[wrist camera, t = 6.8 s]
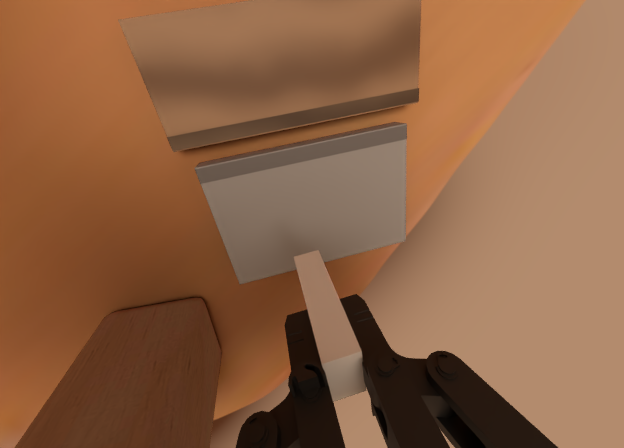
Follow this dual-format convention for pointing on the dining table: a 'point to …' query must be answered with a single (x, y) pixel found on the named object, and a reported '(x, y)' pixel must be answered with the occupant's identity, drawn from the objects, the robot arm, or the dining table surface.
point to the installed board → (274, 64)
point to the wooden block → (137, 383)
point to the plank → (309, 199)
